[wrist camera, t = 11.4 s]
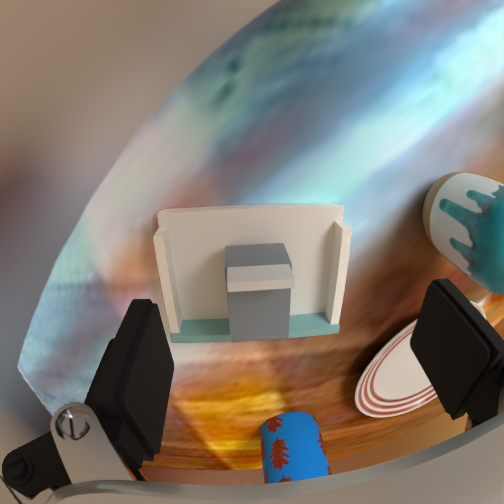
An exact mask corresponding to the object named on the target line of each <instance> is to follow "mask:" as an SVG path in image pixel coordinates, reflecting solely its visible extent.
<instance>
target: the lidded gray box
mask: <svg viewBox="0 0 504 504" xmlns="http://www.w3.org/2000/svg"><path fill="white" fill-rule="evenodd" d="M224 269H225V281H226V292H227V304H228V315H229V325H230V335H231V342H243V341H259V340H272V339H284V338H289V322H290V300H291V288H294V280H295V279H294V276H293V273H292V263H291V260H290V258H289V256H288V253H287V251H286V248H285V246H284V243H269V244H250V245H231V246H225V265H224Z"/></svg>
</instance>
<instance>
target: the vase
mask: <svg viewBox="0 0 504 504" xmlns="http://www.w3.org/2000/svg"><path fill="white" fill-rule="evenodd" d="M422 217H423V224H424V229H425V232H426V234H427V236H428V238H429V240H430V241H431V243H432V244H433V245H434V246H435V248H436V249H437V250H438V251H439V252H440V253H441V254H442V255H443V256H444V257H445V258H446V259H447V260H449V261H450V262H451V263H452V264H453V265H454V266H456V267H457V268H458V269H459V270H461V271H462V272H463V273H464V274H466V275H467V276H468V277H470V278H471V279H472V280H473V281H475V282H476V283H477V284H479V285H480V286H482V287H483V288H485V289H487V290H488V291H490V292H492V293H495V294H497V295H504V184H502V183H500V182H497V181H495V180H492V179H489V178H486V177H483V176H479V175H475V174H470V173H464V172H455V173H450V174H447V175H445V176H443V177H441V178H440V179H438V180H437V181H436V182H435V183H434V184H433V185H432V187H431V188H430V189H429V191H428V193H427V195H426V198H425V201H424V205H423V215H422Z"/></svg>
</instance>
